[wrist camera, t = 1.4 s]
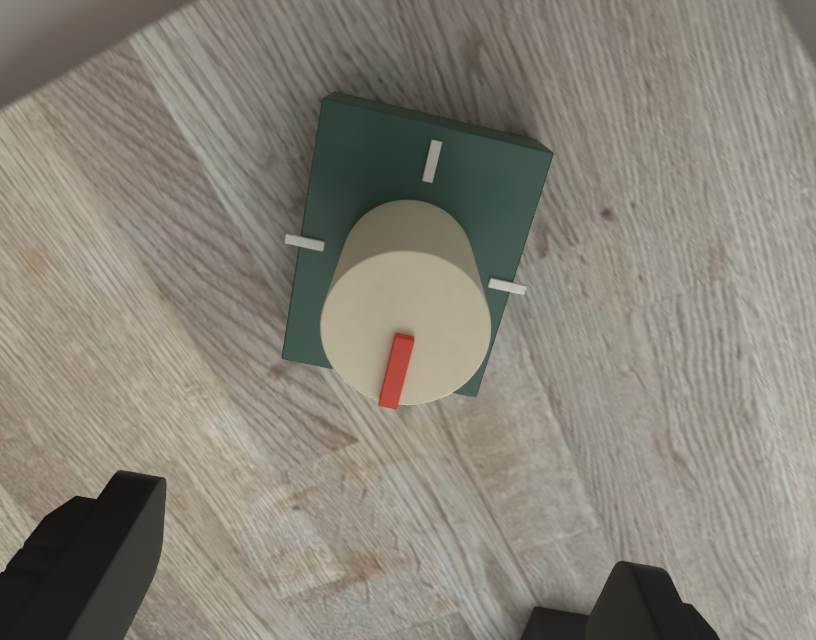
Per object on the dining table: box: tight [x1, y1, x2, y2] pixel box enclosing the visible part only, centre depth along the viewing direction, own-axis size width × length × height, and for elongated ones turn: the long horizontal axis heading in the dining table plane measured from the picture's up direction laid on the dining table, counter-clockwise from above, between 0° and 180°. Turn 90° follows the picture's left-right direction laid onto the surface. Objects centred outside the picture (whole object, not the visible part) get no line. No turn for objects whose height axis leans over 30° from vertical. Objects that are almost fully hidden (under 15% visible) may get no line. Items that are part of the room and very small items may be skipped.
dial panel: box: [282, 92, 554, 397], centre depth 24 cm, size 10×9×3 cm
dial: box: [320, 200, 491, 409], centre depth 19 cm, size 5×5×6 cm
